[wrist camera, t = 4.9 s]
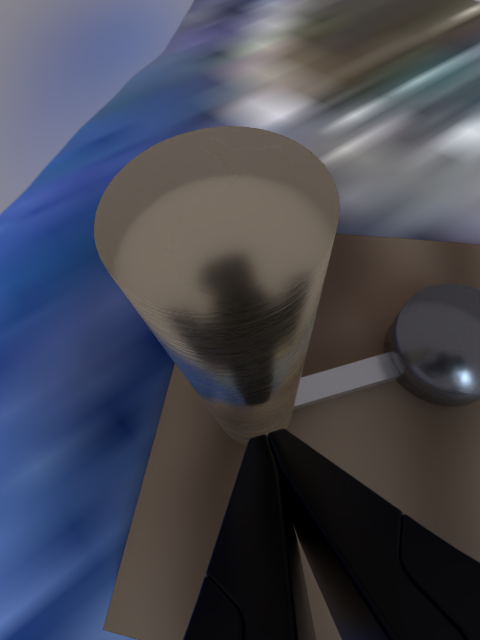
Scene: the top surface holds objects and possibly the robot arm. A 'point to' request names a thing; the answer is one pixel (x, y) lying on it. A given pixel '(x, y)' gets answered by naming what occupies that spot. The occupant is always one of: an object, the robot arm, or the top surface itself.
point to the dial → (262, 280)
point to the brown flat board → (309, 442)
